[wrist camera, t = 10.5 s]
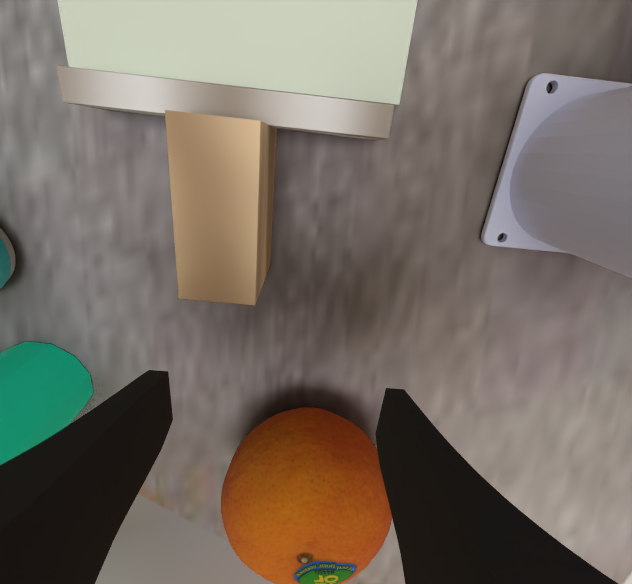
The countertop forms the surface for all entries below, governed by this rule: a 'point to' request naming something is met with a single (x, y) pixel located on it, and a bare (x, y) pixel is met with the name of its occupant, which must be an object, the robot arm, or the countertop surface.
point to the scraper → (223, 165)
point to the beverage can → (6, 258)
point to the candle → (38, 395)
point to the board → (249, 43)
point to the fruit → (306, 499)
